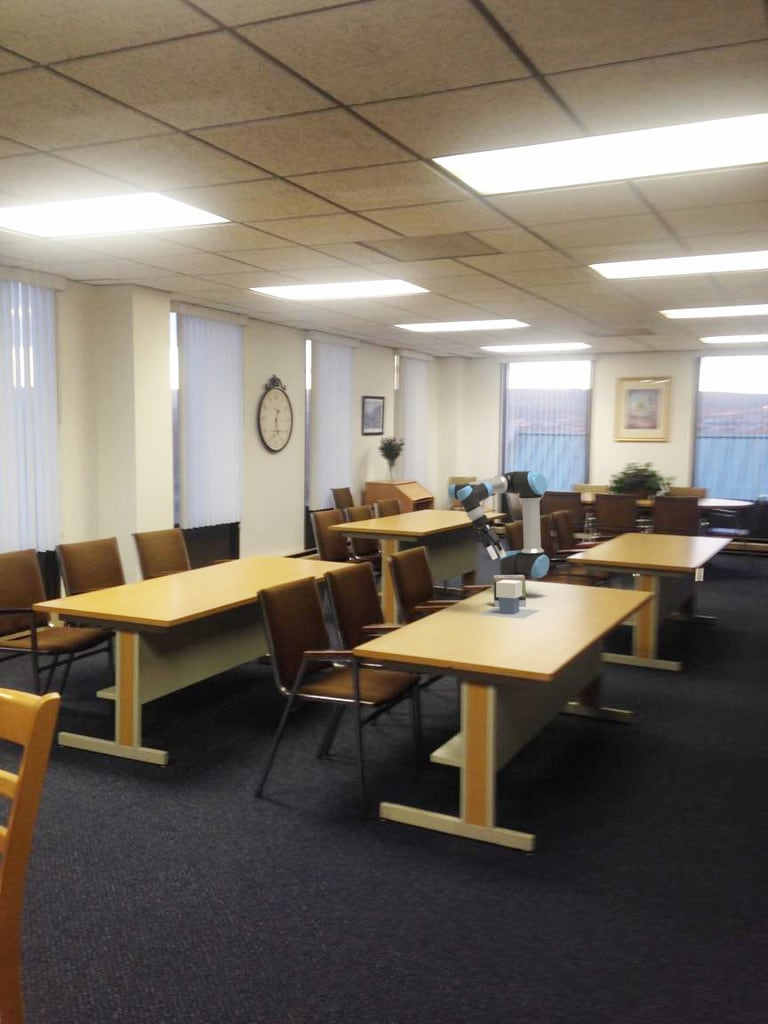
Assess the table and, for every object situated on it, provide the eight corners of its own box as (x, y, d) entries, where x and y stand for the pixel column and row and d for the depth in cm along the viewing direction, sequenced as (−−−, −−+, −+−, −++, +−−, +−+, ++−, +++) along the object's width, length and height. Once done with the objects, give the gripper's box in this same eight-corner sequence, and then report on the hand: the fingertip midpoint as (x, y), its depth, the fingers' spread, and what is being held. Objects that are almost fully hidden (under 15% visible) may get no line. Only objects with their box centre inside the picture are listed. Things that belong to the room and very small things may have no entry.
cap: (503, 594, 400) (503, 579, 400) (522, 595, 396) (522, 580, 396) (496, 597, 392) (496, 582, 392) (515, 598, 388) (515, 583, 388)
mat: (495, 608, 410) (495, 607, 410) (540, 611, 399) (540, 610, 399) (477, 615, 390) (477, 614, 390) (524, 619, 380) (524, 618, 380)
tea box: (524, 604, 419) (524, 574, 418) (525, 608, 409) (525, 577, 408) (493, 604, 420) (493, 574, 420) (494, 607, 410) (494, 577, 410)
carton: (504, 610, 399) (504, 583, 399) (519, 611, 396) (519, 584, 395) (499, 613, 393) (499, 585, 392) (513, 614, 390) (513, 586, 389)
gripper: (464, 524, 410) (485, 563, 410) (478, 518, 386) (500, 559, 385) (477, 517, 412) (498, 556, 411) (492, 510, 388) (514, 552, 387)
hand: (499, 557), depth 398 cm, fingers open, 13 cm apart
